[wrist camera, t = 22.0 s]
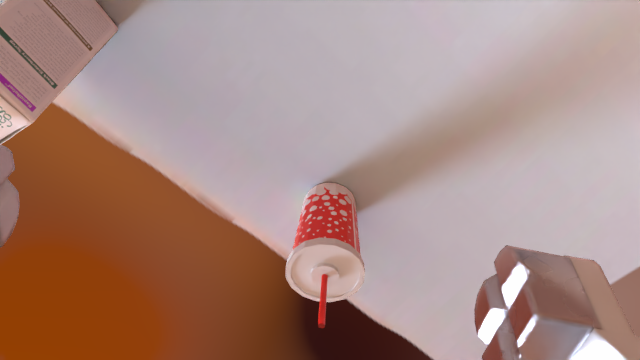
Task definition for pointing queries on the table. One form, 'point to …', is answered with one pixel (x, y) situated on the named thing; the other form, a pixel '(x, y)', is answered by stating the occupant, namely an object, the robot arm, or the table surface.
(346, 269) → the beverage cup
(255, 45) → the table surface
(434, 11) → the table surface
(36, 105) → the syrup box
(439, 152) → the table surface
